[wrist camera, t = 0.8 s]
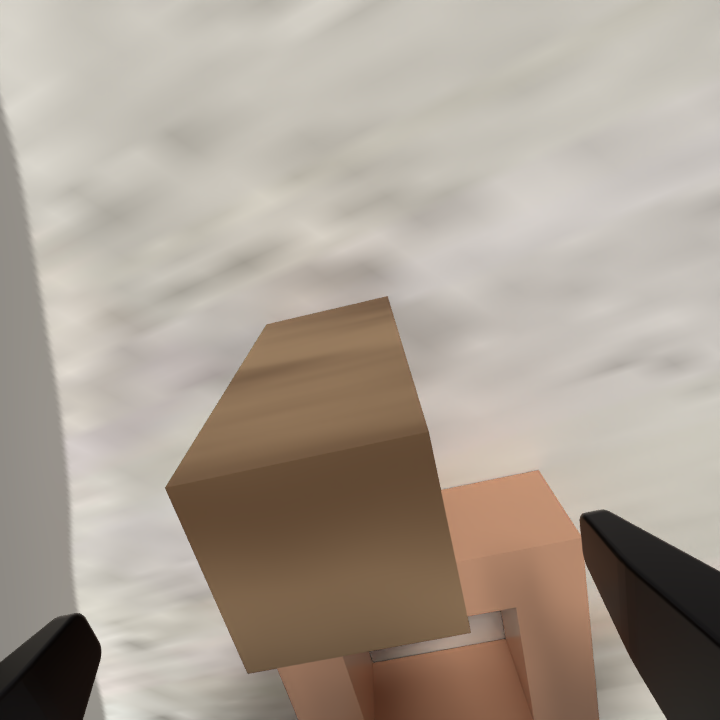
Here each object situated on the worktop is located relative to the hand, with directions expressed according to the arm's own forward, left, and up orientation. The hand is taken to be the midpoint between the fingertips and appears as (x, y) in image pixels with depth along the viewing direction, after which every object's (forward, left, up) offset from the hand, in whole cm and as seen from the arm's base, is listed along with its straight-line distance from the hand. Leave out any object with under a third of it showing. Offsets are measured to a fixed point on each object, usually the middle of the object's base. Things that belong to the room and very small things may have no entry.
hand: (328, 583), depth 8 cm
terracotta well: (-12, -1, -10) cm, 16 cm away
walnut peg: (0, 0, -10) cm, 10 cm away
